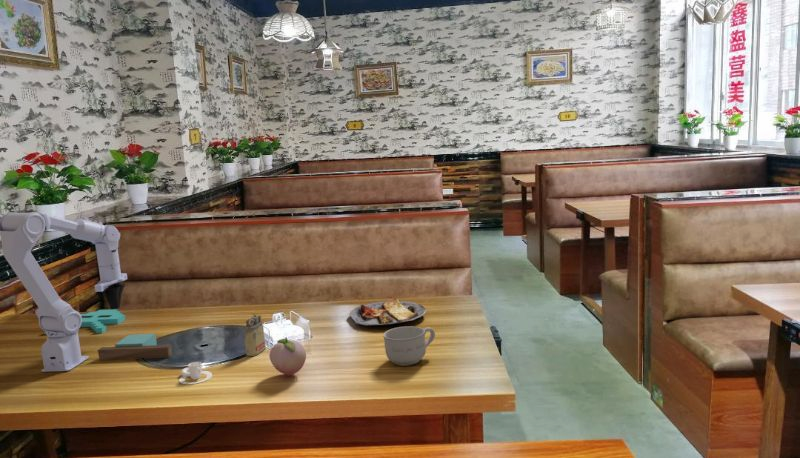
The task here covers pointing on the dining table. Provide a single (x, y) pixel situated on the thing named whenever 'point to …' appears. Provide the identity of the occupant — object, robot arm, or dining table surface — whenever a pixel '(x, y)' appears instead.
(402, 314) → the food plate
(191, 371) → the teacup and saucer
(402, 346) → the teacup
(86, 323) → the teal pixel cutout
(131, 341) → the teal block
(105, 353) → the walnut board
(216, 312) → the dining table surface
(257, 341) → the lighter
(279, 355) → the decorative fruit
